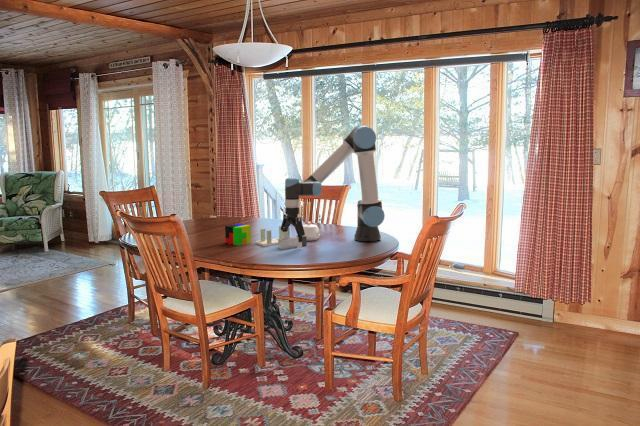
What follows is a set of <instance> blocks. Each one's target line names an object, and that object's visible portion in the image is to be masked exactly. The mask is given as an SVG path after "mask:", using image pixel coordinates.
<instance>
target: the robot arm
mask: <svg viewBox="0 0 640 426" xmlns="http://www.w3.org/2000/svg"><path fill="white" fill-rule="evenodd" d="M376 142H377V135H376V132H375V130H374V129H373V128H371V127H370V126H369V125H358V126H356V127H354V128H353V129H352V130H351V131H350V132H349V134H348V135H347V136H346V137H345V138H344V139H343V140H342V144H341V145H339V147H338V148H336V149H335V150H334V152H333V153H332V154H331V155H330V156H329V157H328V158H326V160H325V161H324V162H322V163H321V165H319V167H317V168H316V170H314V171H313V172H312V173H311V175H309V176H308V178H306V179H304V180H303V181H300V179H299V178H298V177H287V178H285V181H284V195H285V197H284V198H285V199H284V202H285V203H284V207H285V208H284V210H285V211H284V212H285V214H283V219H282V223H281V225H280V226H281V230H282V231H283V238H288V228H290V226H291V225H292V226H293V228H294V229H295V232H296V234H297V235H296V236H297V247H296V248H297V249H300V248H301V249H302V248H303V246H302V236H303V235H305V232H304V229H303V225H304V224H303V222H302V217H301V216H298V215H299V214H300V196H301V197H302V196H303V197H305V196H306V197H307V196H308V197H309V196H311V197H317V196H321V195H322V190H323V189H322V186H323V185H322V183H324V181H326V180H327V178H329V177H330V176H331V175H332V174H333V173H334V172H335V171H336V170H337V169H338V168H339V167H340V166H341V165H342V164H343V163H344V162H345V161H346V160H347V159H348V158H349V157H350V156H351V155H352V154H355V155H356V156H357V164H358V170H359V171H358V172H359V173H358V174H359V180H360V189H361V197H362V199H360V200H359V199H358V200H357V205H356V207H357V217H356V219H357V220H356V221H357V222H356V223H357V227H356V231H355V233H354V235H353V237H354V239H355V241H356V240H357V241H356V242H360V241H376V242H378V241H377V240H380V239H382V238H381V234H380V233H381V232H380V230H379V226H380V225H382V223H384V220H385V217H386V216H385V212H384V209H383V205H382V204H383V203H382V199H381V198H379V194H378V193H379V192H378V184H377V173H376V165H375V157H374V154H375V152H376V150H377V148H376ZM286 231H287V232H286ZM299 233H300V234H299ZM380 241H381V240H380Z"/></svg>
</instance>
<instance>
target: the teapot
mask: <svg viewBox="0 0 640 426" xmlns="http://www.w3.org/2000/svg"><path fill="white" fill-rule="evenodd" d="M302 225H303V229H304V232H305V235H303V236H307V241H316V240H318V238H320V235H321V231H322V229H323V227H319V226H318V225H316V224H313V223H312V222H311V221H307V224H302ZM299 234H300V233H299Z"/></svg>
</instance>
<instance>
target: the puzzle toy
mask: <svg viewBox="0 0 640 426" xmlns="http://www.w3.org/2000/svg"><path fill="white" fill-rule="evenodd" d="M251 227H252V226H251V225H250V224H245V223H244V224H243V223H234V224H230V225H225V226H224V229H225V230H224V231H225V232H224V233H225V235H224V237H225V244H226V243H228V244H227V245H231V244H233V245H232V246H236V245H237V246H236V247H239V246H243V245H246V244H247V245H248V244H250V243H252V232H251V231H252V230H251ZM238 245H239V246H238Z"/></svg>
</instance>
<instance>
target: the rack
mask: <svg viewBox="0 0 640 426" xmlns="http://www.w3.org/2000/svg"><path fill="white" fill-rule="evenodd" d="M290 231H291V230H290V227H289V228H288V238H289V237H291V236H290V235H291V234H290ZM286 232H287V231H286ZM282 238H283V231H282V230H281V225H279V226H278V237H277V238H272V230H271V229H268V230H266V228H264V227H263V228H262V227H261V228H260V240H255V241H254V242H255V244H257V245H260V246H262V247H263V248H265V247H269V246H277V245H278V239H282Z"/></svg>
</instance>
